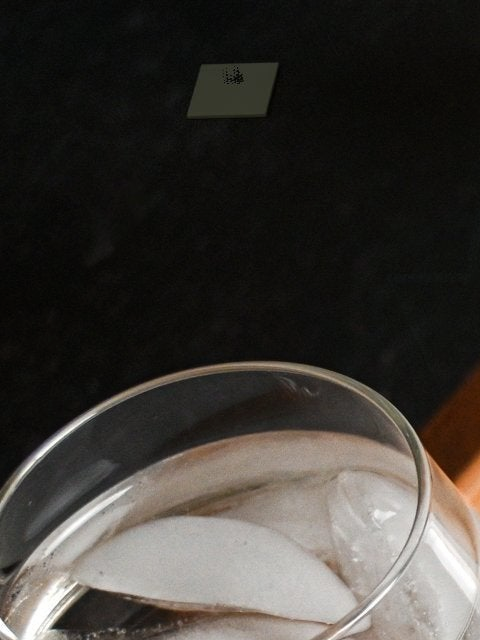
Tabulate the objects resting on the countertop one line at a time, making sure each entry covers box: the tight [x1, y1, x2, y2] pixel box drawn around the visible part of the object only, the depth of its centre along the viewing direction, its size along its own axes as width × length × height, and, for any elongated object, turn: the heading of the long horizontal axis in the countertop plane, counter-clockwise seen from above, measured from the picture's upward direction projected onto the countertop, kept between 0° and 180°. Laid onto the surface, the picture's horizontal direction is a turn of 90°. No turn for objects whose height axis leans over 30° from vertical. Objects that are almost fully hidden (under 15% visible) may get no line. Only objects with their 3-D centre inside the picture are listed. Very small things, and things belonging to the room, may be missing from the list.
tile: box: [186, 62, 280, 120], centre depth 146 cm, size 6×6×1 cm
